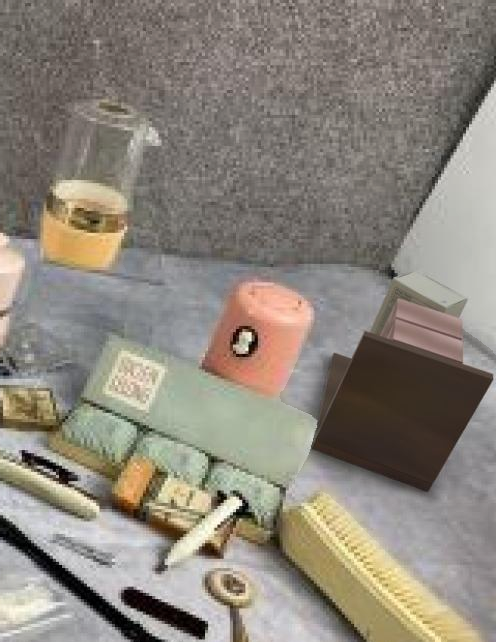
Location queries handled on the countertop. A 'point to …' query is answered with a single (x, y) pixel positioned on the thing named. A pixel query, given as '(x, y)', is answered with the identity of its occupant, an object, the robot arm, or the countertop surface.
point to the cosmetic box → (419, 297)
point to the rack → (401, 397)
